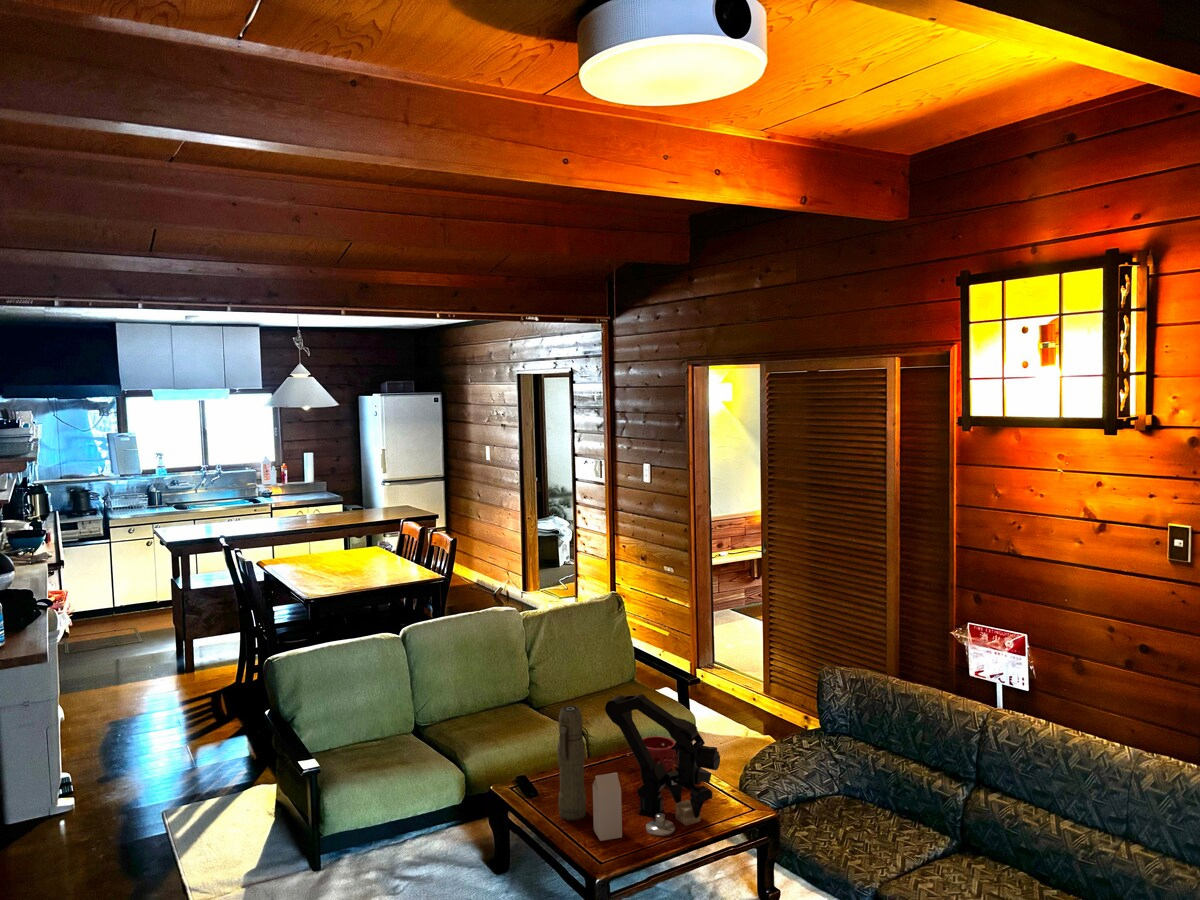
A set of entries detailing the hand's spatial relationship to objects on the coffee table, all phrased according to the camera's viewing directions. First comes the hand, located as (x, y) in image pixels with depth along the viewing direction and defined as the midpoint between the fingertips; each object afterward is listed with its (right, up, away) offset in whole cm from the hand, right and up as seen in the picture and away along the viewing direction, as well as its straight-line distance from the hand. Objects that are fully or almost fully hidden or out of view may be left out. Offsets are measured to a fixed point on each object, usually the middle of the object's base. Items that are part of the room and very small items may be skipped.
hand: (687, 812), depth 282 cm
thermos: (-37, -3, +6) cm, 37 cm away
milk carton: (-25, -4, -8) cm, 27 cm away
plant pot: (-7, -1, +35) cm, 36 cm away
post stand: (-9, -3, -6) cm, 11 cm away
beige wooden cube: (0, -3, 0) cm, 3 cm away
